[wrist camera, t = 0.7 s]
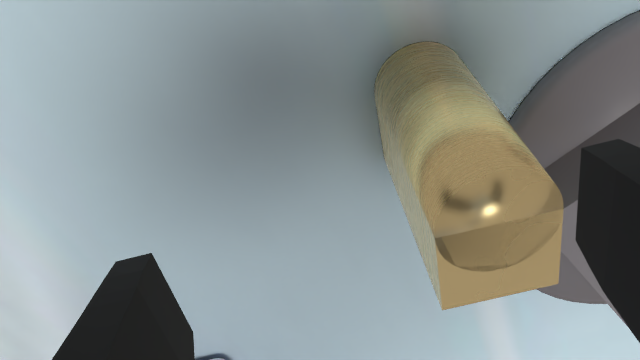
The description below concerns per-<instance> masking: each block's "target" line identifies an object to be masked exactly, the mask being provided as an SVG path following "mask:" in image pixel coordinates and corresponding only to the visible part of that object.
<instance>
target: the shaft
mask: <svg viewBox="0 0 640 360" xmlns="http://www.w3.org/2000/svg"><path fill="white" fill-rule="evenodd" d="M374 95H375V102H376V108H377V115H378V121H379V127H380V134H381V140H382V147H383V153H384V159H385V162H386V164H387V167H388V169H389V172H390V175H391V177H392V180H393V183H394V185H395V188H396V190H397V193H398V196H399V198H400V201H401V203H402V206H403V209H404V211H405V214H406V217H407V219H408V222H409V224H410V227H411V230H412V232H413V235H414V238H415V240H416V243H417V245H418V248H419V251H420V253H421V256H422V258H423V261H424V264H425V266H426V269H427V272H428V274H429V277H430V279H431V282H432V285H433V287H434V290H435V293H436V295H437V298H438V300H439V303H440V306H441V308H442V310H446V309H450V308H454V307H459V306H463V305H468V304H472V303H476V302H481V301H485V300H490V299H494V298H498V297H503V296H507V295H512V294H516V293H520V292H525V291H529V290H534V289H538V288H542V287H547V286H551V285H556V284H558V283H559V268H560V254H561V239H562V224H563V210H564V206H563V198H562V195H561V192H560V190H559V188H558V187H557V185H556V184H555V183H554V181H553V180H552V179H551V177H550V176H549V175H548V174H547V172H546V171H545V170H544V168H543V167H542V166H541V164H540V163H539V162H538V160H537V159H536V158H535V156H534V155H533V154H532V152H531V151H530V150H529V148H528V147H527V146H526V145H525V143H524V142H523V141H522V139H521V138H520V137H519V135H518V134H517V133H516V131H515V130H514V129H513V127H512V126H511V125H510V123H509V122H508V121H507V119H506V118H505V117H504V116H503V114H502V113H501V112H500V110H499V109H498V108H497V106H496V105H495V104H494V102H493V101H492V100H491V98H490V97H489V96H488V94H487V93H486V92H485V90H484V89H483V88H482V87H481V85H480V84H479V83H478V81H477V80H476V79H475V77H474V76H473V75H472V73H471V72H470V71H469V69H468V68H467V67H466V65H465V64H464V63H463V61H462V60H461V59H460V58H459V56H458V55H457V54H456V53H455V52H454V51H453V50H452V49H450V48H449V47H447V46H445V45H442V44H440V43H435V42H419V43H414V44H411V45H408V46H406V47H403V48H402V49H400V50H398V51H397V52H395V53H394V54H393V55H392V56H390V57H389V58H388V59H387V60H386V62H385V63H384V64H383V66H382V67H381V69H380V71H379V73H378V75H377V78H376V81H375V86H374Z"/></svg>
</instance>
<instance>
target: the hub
mask: <svg viewBox="0 0 640 360" xmlns="http://www.w3.org/2000/svg"><path fill="white" fill-rule="evenodd" d="M509 123H510V125H511V126H512V127H513V129H514V130H515V131H516V133H517V134H518V135H519V137H520V138H521V139H522V141H523V142H524V143H525V145H526V146H527V147H528V148H529V150H530V151H531V152H532V154H533V155H534V156H535V158H536V159H537V160H538V162H539V163H540V164H541V166H542V167H543V168H544V170H545V171H546V172H547V174H548V175H549V176H550V177H551V179H552V180H553V181H554V183H555V184H556V185H557V187H558V188H559V190H560V192H561V195H562V198H563V206H564V210H563V224H562V239H561V254H560V268H559V283H558V284H556V285H551V286H547V287H542V288H538V289H537V290H539V291H541V292H543V293H545V294H548V295H550V296H553V297H555V298H559V299H563V300H567V301H572V302H579V303H588V304H608V305H609V306H610V307H611V308H612V309H613V310H614V312H615V313H616V314H617V315H618V316H619V317H620V318H621V319H622V317H621V316H620V315H619V313H618V312H617V311H616V309H615V308H614V306H613V305H612V304H611V302H610V301H609V299H608V298H607V296H606V295H605V293H604V292H603V290H602V289H601V287H600V285H599V283H598V281H597V280H596V278H595V276H594V274H593V273H592V271H591V269H590V267H589V265H588V263H587V261H586V259H585V257H584V256H583V254H582V252H581V250H580V248H579V246H578V244H577V242H576V240H575V238H576V222H577V207H578V191H579V176H580V161H581V148H583V147H587V146H591V145H595V144H599V143H603V142H607V141H611V140H615V139H620V140H623V141H625V142H628V143H630V144H632V145H635V146H637V147H639V148H640V11H638V12H636V13H633V14H631V15H629V16H627V17H625V18H623V19H621V20H620V21H618V22H616V23H614V24H612V25H610V26H608V27H607V28H605V29H603V30H602V31H600V32H599V33H597V34H596V35H594V36H593V37H591V38H590V39H588V40H587V41H585V42H584V43H582V44H581V45H579V46H578V47H577V48H576V49H575V50H573V51H572V52H571V53H570V54H568V55H567V56H566V57H565V58H564V59H562V60H561V61H560V62H559V63H558V64H557V65H556V66H555V67H554V68H552V69H551V70H550V71H549V72H548V73H547V74H546V75H545V76H544V77H543V78H542V79H541V80H540V81H539V82H538V84H537V85H536V86H535V87H534V88H533V90H532V91H531V92H530V93H529V95H528V96H527V97H526V98H525V99H524V101H523V102H522V103H521V104H520V106H519V108H518V109H517V111H516V112H515V114H514V115H513V117H512V118H511V120H510V121H509ZM622 321H623V322H624V320H623V319H622ZM624 323H625V322H624ZM625 324H626V323H625ZM626 325H627V324H626Z"/></svg>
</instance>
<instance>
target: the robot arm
mask: <svg viewBox="0 0 640 360" xmlns="http://www.w3.org/2000/svg"><path fill="white" fill-rule="evenodd" d="M575 240H576V242H577V244H578V246H579V248H580V250H581V252H582V254H583V256H584V257H585V259H586V261H587V263H588V265H589V267H590V269H591V271H592V273H593V274H594V276H595V278H596V280H597V281H598V283H599V285H600V287H601V289H602V290H603V292H604V293H605V295H606V296H607V298H608V299H609V301H610V302H611V304H612V305H613V306H614V308H615V309H616V311H617V312H618V313H619V315H620V316H621V317H622V319H623V320H624V322H625V323H626V324H627V326H628V327H629V329H630V330H631V331H632V333H633V334H634V336H635V337H636V338H637V340H638V341H639V342H640V148H639V147H637V146H635V145H632V144H630V143H628V142H625V141H623V140H620V139H615V140H611V141H607V142H603V143H599V144H595V145H591V146H587V147H583V148H581V161H580V176H579V191H578V207H577V222H576V238H575ZM52 360H195V359H194V340H193V331H192V329H191V327H190V325H189V323H188V322H187V320H186V318H185V316H184V314H183V312H182V310H181V308H180V306H179V304H178V303H177V301H176V299H175V297H174V295H173V293H172V291H171V289H170V287H169V285H168V283H167V282H166V280H165V278H164V276H163V274H162V272H161V270H160V268H159V266H158V264H157V262H156V261H155V259H154V257H153V255H152V253H150V254H146V255H141V256H137V257H133V258H129V259H125V260H121V261H117V262H116V263H115V264H114V265H113V267H112V268H111V270H110V271H109V273H108V274H107V276H106V277H105V279H104V280H103V282H102V284H101V285H100V287H99V288H98V290H97V291H96V293H95V294H94V296H93V298H92V299H91V301H90V302H89V304H88V305H87V307H86V309H85V310H84V312H83V313H82V315H81V316H80V318H79V319H78V321H77V323H76V324H75V326H74V327H73V329H72V330H71V332H70V333H69V335H68V336H67V338H66V339H65V341H64V342H63V344H62V345H61V347H60V348H59V350H58V351H57V353H56V354H55V356H54V357H53V359H52ZM210 360H225V359H222V358H215V359H210Z"/></svg>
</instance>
